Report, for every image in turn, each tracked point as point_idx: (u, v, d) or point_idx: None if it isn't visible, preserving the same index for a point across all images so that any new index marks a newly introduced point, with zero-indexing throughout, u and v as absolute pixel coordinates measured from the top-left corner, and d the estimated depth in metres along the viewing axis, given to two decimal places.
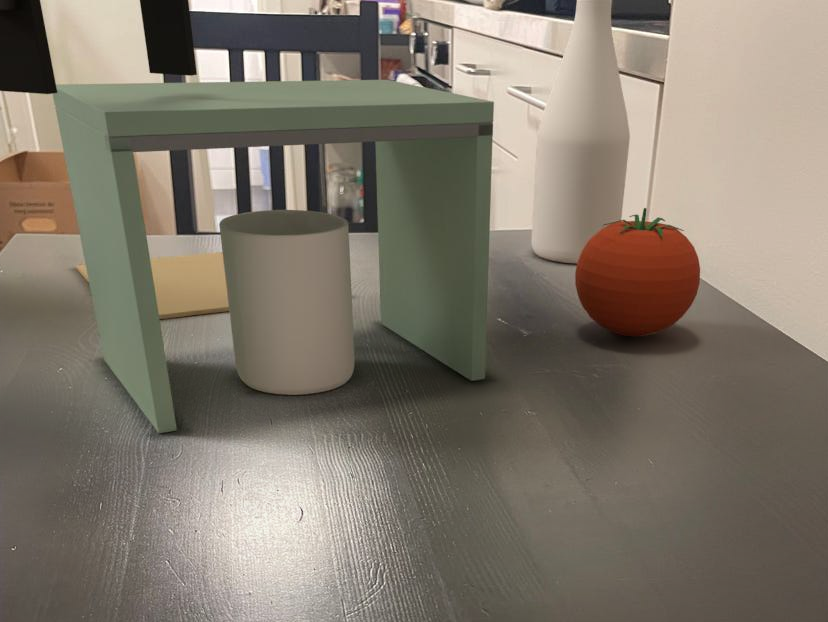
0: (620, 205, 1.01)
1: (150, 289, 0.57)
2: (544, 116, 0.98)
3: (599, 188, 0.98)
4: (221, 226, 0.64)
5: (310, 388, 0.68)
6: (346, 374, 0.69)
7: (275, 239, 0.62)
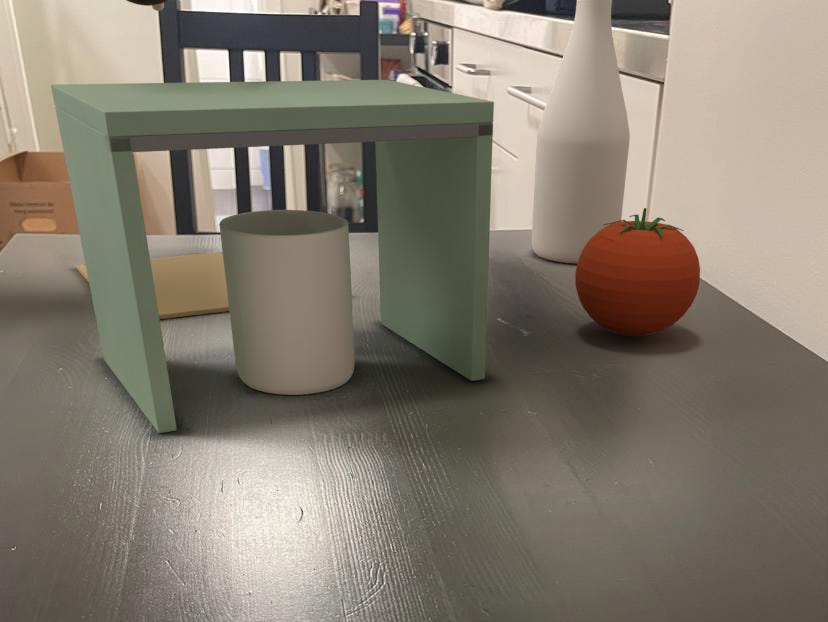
0: (620, 205, 1.01)
1: (150, 289, 0.57)
2: (544, 116, 0.98)
3: (599, 188, 0.98)
4: (221, 226, 0.64)
5: (310, 388, 0.68)
6: (346, 374, 0.69)
7: (275, 239, 0.62)
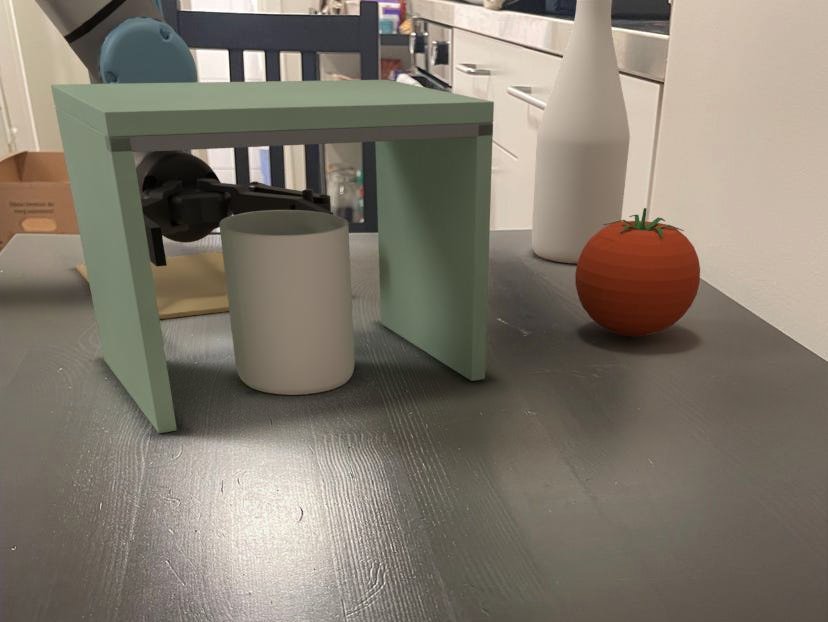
0: (620, 205, 1.01)
1: (150, 289, 0.57)
2: (544, 116, 0.98)
3: (599, 188, 0.98)
4: (221, 226, 0.64)
5: (310, 388, 0.68)
6: (346, 374, 0.69)
7: (275, 239, 0.62)
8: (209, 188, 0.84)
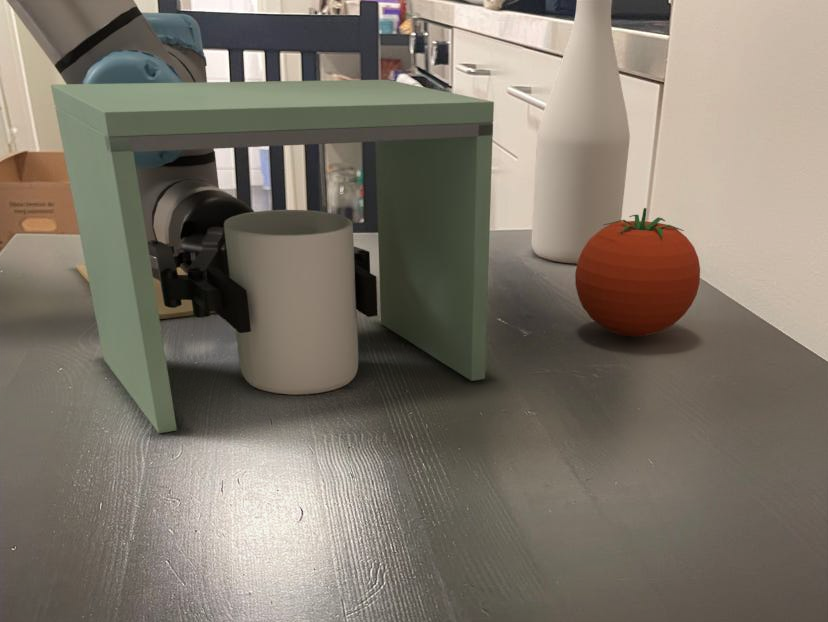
0: (620, 205, 1.01)
1: (150, 289, 0.57)
2: (544, 116, 0.98)
3: (599, 188, 0.98)
4: (226, 226, 0.64)
5: (315, 388, 0.68)
6: (351, 373, 0.70)
7: (282, 239, 0.62)
8: None
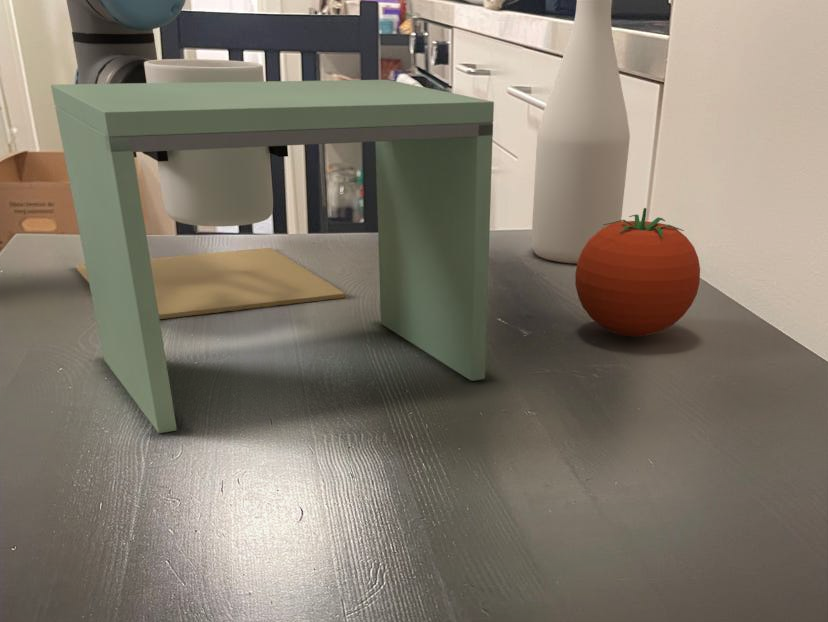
0: (620, 205, 1.01)
1: (150, 289, 0.57)
2: (544, 116, 0.98)
3: (599, 188, 0.98)
4: (145, 63, 0.70)
5: (230, 219, 0.75)
6: (264, 210, 0.76)
7: (193, 71, 0.69)
8: None
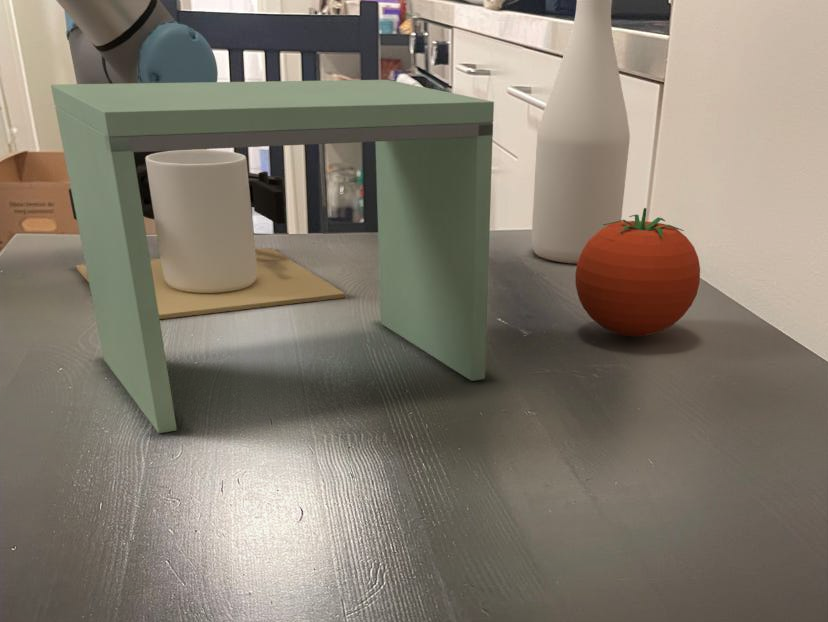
0: (620, 205, 1.01)
1: (150, 289, 0.57)
2: (544, 116, 0.98)
3: (599, 188, 0.98)
4: (146, 159, 0.83)
5: (220, 287, 0.87)
6: (249, 278, 0.89)
7: (187, 167, 0.81)
8: None
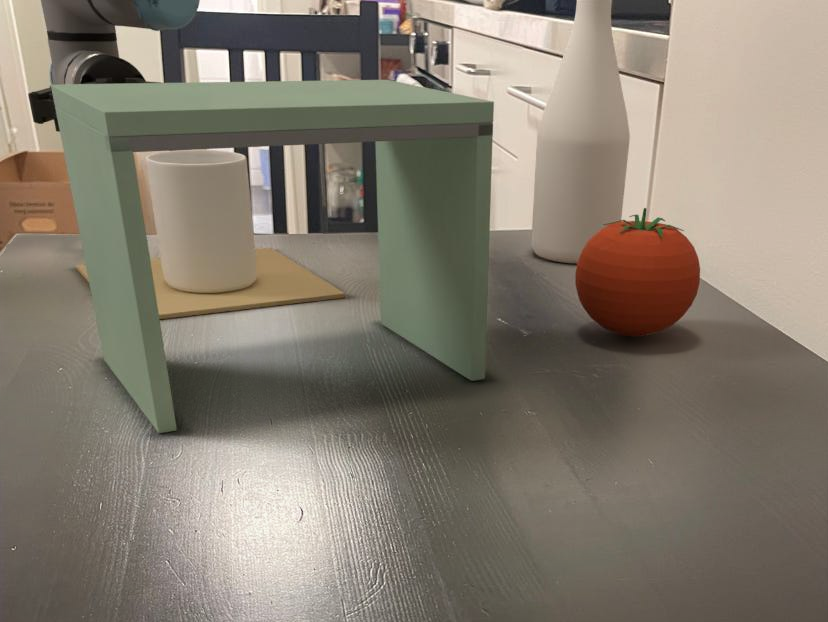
0: (620, 205, 1.01)
1: (150, 289, 0.57)
2: (544, 116, 0.98)
3: (599, 188, 0.98)
4: (146, 159, 0.83)
5: (220, 287, 0.87)
6: (249, 278, 0.89)
7: (187, 167, 0.81)
8: None
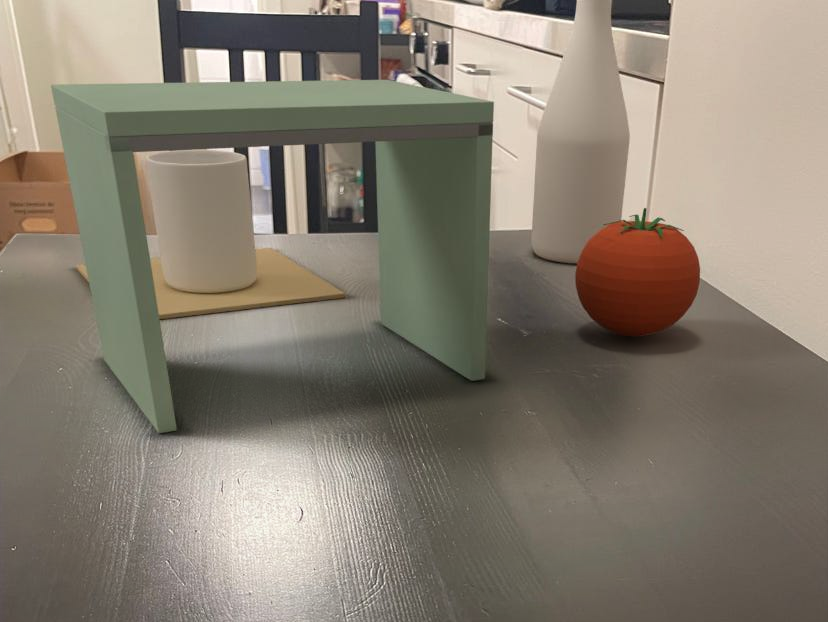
0: (620, 205, 1.01)
1: (150, 289, 0.57)
2: (544, 116, 0.98)
3: (599, 188, 0.98)
4: (146, 159, 0.83)
5: (220, 287, 0.87)
6: (249, 278, 0.89)
7: (187, 167, 0.81)
8: None
